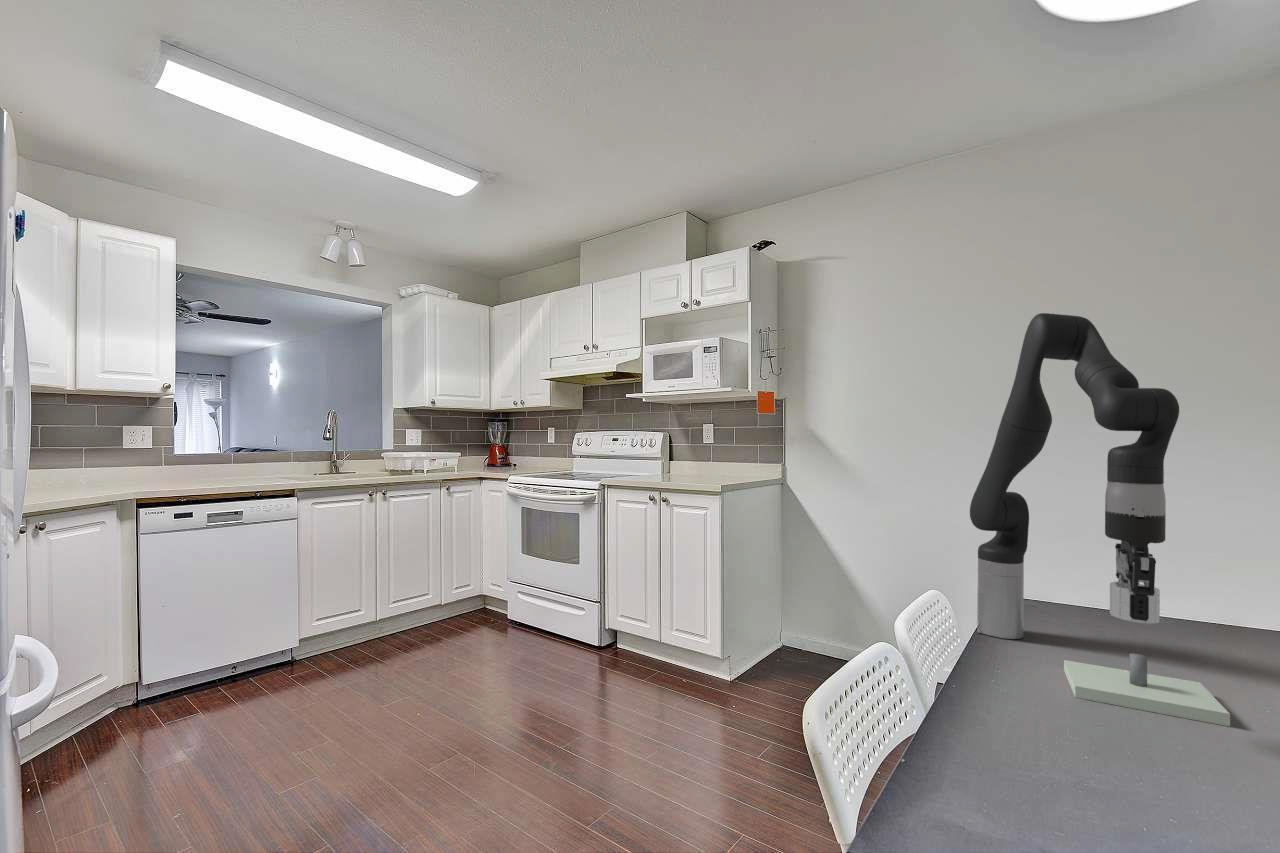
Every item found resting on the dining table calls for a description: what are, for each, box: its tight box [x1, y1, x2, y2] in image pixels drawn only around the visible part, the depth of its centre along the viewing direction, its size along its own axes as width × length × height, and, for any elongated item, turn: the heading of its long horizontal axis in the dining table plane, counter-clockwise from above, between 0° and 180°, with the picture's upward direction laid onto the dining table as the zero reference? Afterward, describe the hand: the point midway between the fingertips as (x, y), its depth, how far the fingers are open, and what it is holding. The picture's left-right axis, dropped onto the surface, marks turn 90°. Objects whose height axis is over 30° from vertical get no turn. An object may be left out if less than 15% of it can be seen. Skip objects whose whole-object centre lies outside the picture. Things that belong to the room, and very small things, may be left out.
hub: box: [1109, 581, 1161, 624], centre depth 95 cm, size 6×6×5 cm
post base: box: [1063, 653, 1231, 727], centre depth 104 cm, size 20×14×7 cm
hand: (1133, 613), depth 95 cm, fingers closed on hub, 6 cm apart
